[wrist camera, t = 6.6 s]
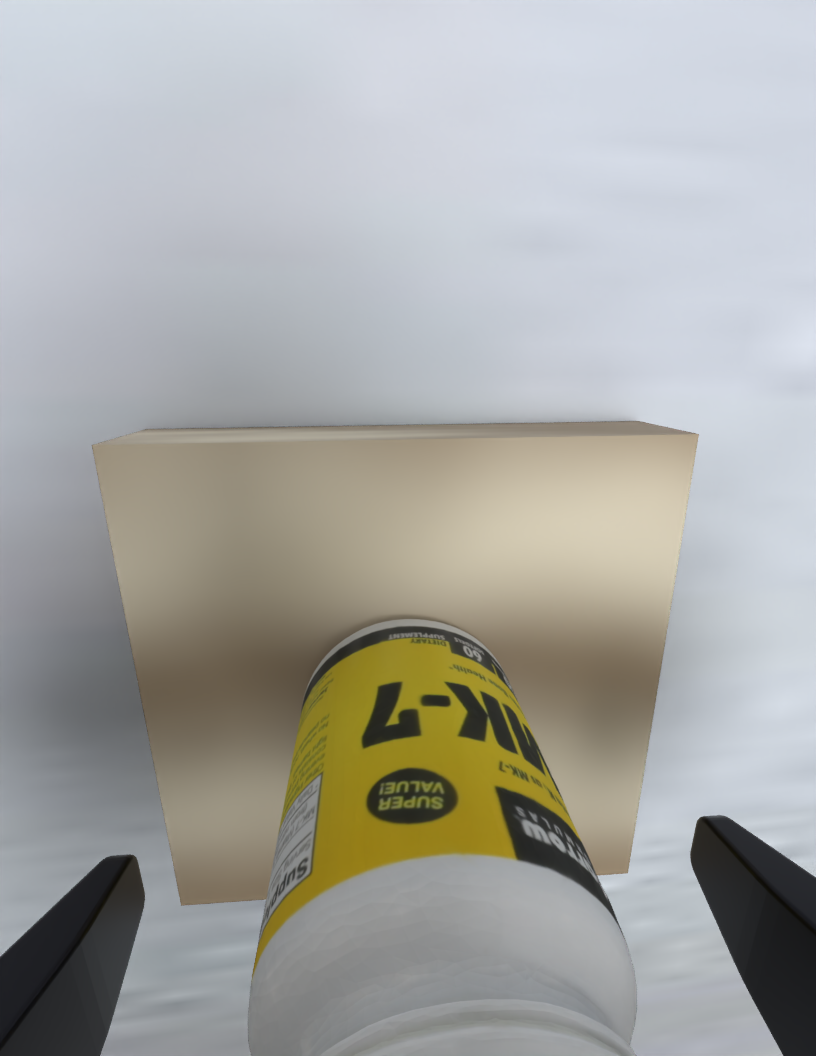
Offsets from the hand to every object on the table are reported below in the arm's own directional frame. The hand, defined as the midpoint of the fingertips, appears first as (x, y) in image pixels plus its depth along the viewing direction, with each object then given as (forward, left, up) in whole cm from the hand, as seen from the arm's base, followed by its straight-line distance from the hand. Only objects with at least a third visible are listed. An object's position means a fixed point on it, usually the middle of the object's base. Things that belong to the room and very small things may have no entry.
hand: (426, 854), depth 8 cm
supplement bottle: (0, 0, -4) cm, 4 cm away
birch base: (0, 0, -6) cm, 6 cm away
